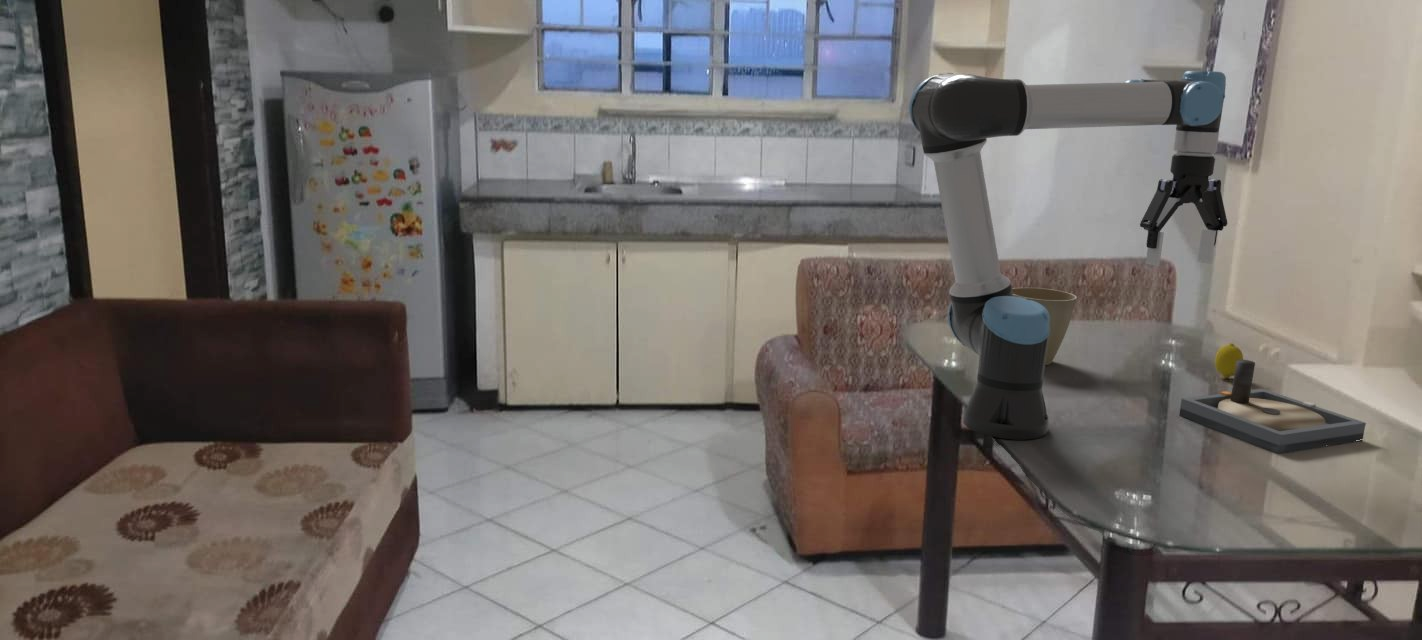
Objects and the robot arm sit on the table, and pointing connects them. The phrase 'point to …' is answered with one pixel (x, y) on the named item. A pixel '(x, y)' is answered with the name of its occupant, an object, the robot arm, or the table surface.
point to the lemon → (1227, 360)
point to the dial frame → (1331, 433)
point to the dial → (1265, 405)
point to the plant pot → (1052, 313)
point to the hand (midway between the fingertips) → (1178, 263)
